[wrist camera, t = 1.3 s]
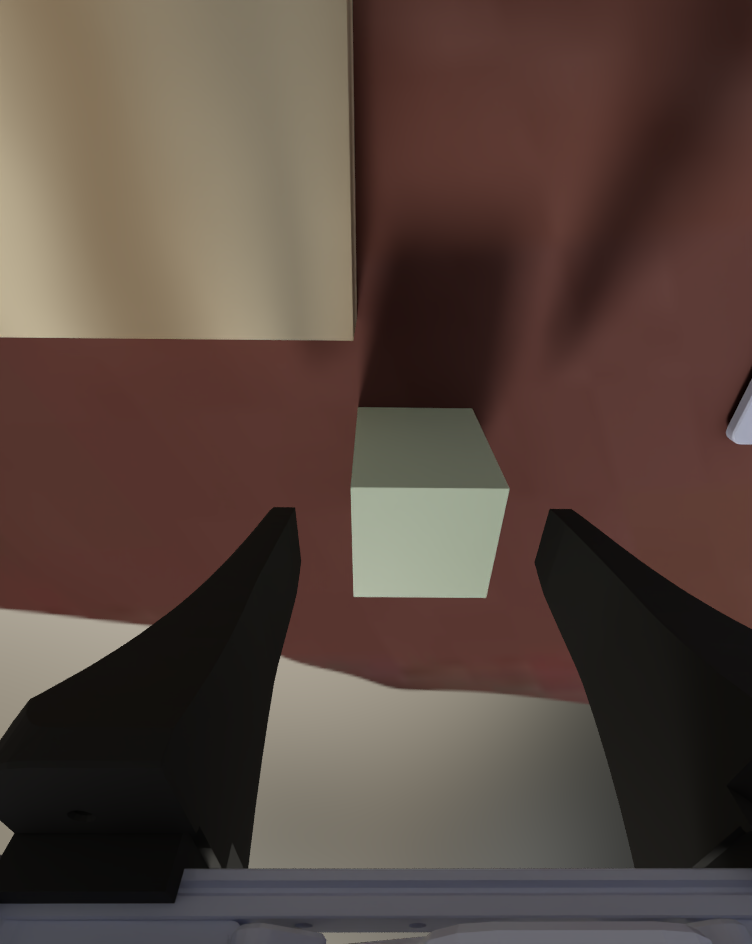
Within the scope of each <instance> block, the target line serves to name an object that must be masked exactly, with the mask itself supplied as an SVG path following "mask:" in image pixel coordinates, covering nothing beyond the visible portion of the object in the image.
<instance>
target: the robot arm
mask: <svg viewBox="0 0 752 944" xmlns="http://www.w3.org/2000/svg"><path fill="white" fill-rule="evenodd" d="M726 435H727V437H728V438H729V439H730V440H732V441H733V442H735V443H737V444H752V379H751V381H750V383H749V385H748V387H747V389H746V391H745V393H744V395H743V397H742V399H741V401H740V403H739V405H738V407H737V409H736V411H735V413H734V415H733V417H732V419H731V421H730V423H729V425H728V427H727V431H726ZM300 566H301V556H300V547H299V539H298V530H297V521H296V512H295V508H292V507H273V508H272V509H271V510H270V511H269V512H268V514H267V515H266V516H265V517H264V518H263V520H262V521H261V522H260V523H259V525H258V526H257V527H256V528H255V529H254V531H253V532H252V533H251V534H250V535H249V536H248V538H247V539H246V540H245V541H244V542H243V543H242V544H241V545H240V546H239V548H238V549H237V550H236V551H235V552H234V553H233V554H232V555H231V556H230V557H229V559H228V560H227V561H226V562H225V563H224V564H223V565H222V566H221V567H220V568H219V569H218V570H217V571H216V572H215V573H214V574H213V575H212V576H211V577H210V578H209V579H208V580H207V581H205V582H204V583H203V584H202V585H201V586H200V587H199V588H198V589H197V590H196V591H194V592H193V593H192V594H191V595H190V596H189V597H188V598H186V599H185V600H184V601H183V602H182V603H180V604H179V605H178V606H177V607H176V608H174V609H173V610H172V611H171V612H169V613H168V614H167V615H165V616H164V617H162V618H161V619H160V620H158V621H157V622H156V623H154V624H153V625H152V626H150V627H149V628H148V629H146V630H145V631H143V632H142V633H141V634H140V635H138V636H136V637H135V638H133V639H132V640H130V641H129V642H127V643H126V644H124V645H123V646H121V647H120V648H118V649H117V650H115V651H114V652H112V653H110V654H109V655H107V656H106V657H104V658H102V659H101V660H99V661H98V662H96V663H94V664H93V665H91V666H89V667H87V668H86V669H84V670H83V671H81V672H79V673H77V674H75V675H73V676H72V677H70V678H68V679H66V680H65V681H63V682H61V683H59V684H57V685H55V686H54V687H52V688H50V689H48V690H47V691H45V692H43V693H41V694H39V695H37V696H35V697H33V698H31V699H30V700H29V701H28V703H27V704H26V705H25V706H24V708H23V709H22V710H21V712H20V713H19V714H18V716H17V717H16V718H15V720H14V721H13V722H12V724H11V725H10V727H9V728H8V730H7V731H6V733H5V734H4V736H3V737H2V738H1V740H0V821H1V822H3V823H4V824H5V825H6V826H7V827H8V828H9V829H10V830H12V831H13V832H14V835H13V837H12V839H11V840H10V842H9V844H8V846H7V847H6V849H5V851H4V853H3V854H2V855H0V944H326V939H325V937H324V936H323V934H322V933H317V932H431V933H429V934H428V935H427V936H426V937H414V938H403V939H393V940H383V941H372V942H361V943H351V944H752V629H750V628H748V627H747V626H745V625H743V624H741V623H739V622H737V621H735V620H733V619H731V618H730V617H728V616H726V615H724V614H722V613H721V612H719V611H717V610H715V609H714V608H712V607H710V606H709V605H707V604H705V603H704V602H702V601H700V600H699V599H697V598H695V597H694V596H692V595H690V594H689V593H687V592H686V591H684V590H682V589H681V588H679V587H678V586H676V585H675V584H673V583H672V582H670V581H669V580H667V579H666V578H664V577H663V576H661V575H660V574H658V573H657V572H655V571H654V570H652V569H651V568H650V567H648V566H647V565H645V564H644V563H643V562H641V561H640V560H638V559H637V558H636V557H634V556H633V555H632V554H630V553H629V552H628V551H626V550H625V549H624V548H622V547H621V546H620V545H618V544H617V543H616V542H614V541H613V540H612V539H611V538H609V537H608V536H607V535H605V534H604V533H603V532H601V531H600V530H599V529H598V528H596V527H595V526H594V525H592V524H591V523H590V522H588V521H587V520H586V519H584V518H583V517H582V516H580V515H579V514H578V513H576V512H575V511H573V510H572V509H550V510H549V513H548V517H547V520H546V524H545V527H544V531H543V534H542V538H541V542H540V545H539V549H538V552H537V556H536V559H535V566H536V569H537V573H538V577H539V580H540V584H541V587H542V590H543V593H544V596H545V598H546V601H547V603H548V605H549V608H550V610H551V612H552V614H553V617H554V619H555V621H556V624H557V626H558V628H559V630H560V632H561V635H562V637H563V639H564V641H565V643H566V646H567V648H568V650H569V652H570V655H571V657H572V659H573V661H574V663H575V666H576V668H577V670H578V673H579V675H580V678H581V680H582V683H583V686H584V689H585V692H586V695H587V698H588V701H589V704H590V707H591V710H592V713H593V716H594V718H595V722H596V725H597V728H598V732H599V735H600V738H601V742H602V745H603V748H604V751H605V755H606V758H607V761H608V765H609V768H610V772H611V776H612V779H613V783H614V786H615V790H616V794H617V798H618V801H619V805H620V808H621V813H622V817H623V821H624V825H625V829H626V833H627V837H628V841H629V846H630V850H631V853H632V858H633V862H634V867H635V868H595V869H594V868H587V869H586V868H583V869H582V868H575V869H574V868H572V869H571V868H568V869H567V868H565V869H564V868H560V869H559V868H551V869H550V868H548V869H547V868H546V869H545V868H533V869H532V868H527V869H526V868H522V869H521V868H518V869H517V868H512V869H510V868H507V869H505V868H499V869H498V868H495V869H494V868H493V869H492V868H487V869H486V868H485V869H484V868H481V869H480V868H475V869H474V868H472V869H470V868H467V869H464V868H463V869H459V868H457V869H455V868H453V869H248V865H249V856H250V848H251V840H252V832H253V823H254V815H255V807H256V799H257V792H258V785H259V778H260V771H261V763H262V756H263V749H264V743H265V736H266V730H267V723H268V716H269V710H270V704H271V698H272V692H273V685H274V681H275V676H276V672H277V667H278V663H279V659H280V656H281V652H282V648H283V644H284V640H285V637H286V633H287V629H288V625H289V622H290V618H291V614H292V610H293V606H294V602H295V598H296V594H297V588H298V581H299V574H300Z"/></svg>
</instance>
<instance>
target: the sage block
mask: <svg viewBox="0 0 752 944" xmlns="http://www.w3.org/2000/svg"><path fill="white" fill-rule="evenodd" d="M508 493H509V487H508V484H507V482H506V480H505V478H504V476H503V474H502V472H501V469H500V467H499V465H498V463H497V461H496V459H495V457H494V454H493V452H492V450H491V448H490V446H489V444H488V442H487V439H486V437H485V435H484V433H483V431H482V429H481V427H480V424H479V422H478V420H477V418H476V416H475V414H474V411H473V409H472V408H379V407H358V413H357V424H356V435H355V446H354V457H353V468H352V479H351V515H352V552H353V590H354V597H452V598H486V595H487V591H488V586H489V582H490V577H491V572H492V568H493V563H494V558H495V554H496V549H497V544H498V540H499V535H500V531H501V526H502V521H503V517H504V512H505V507H506V503H507V498H508Z"/></svg>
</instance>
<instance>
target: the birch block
mask: <svg viewBox="0 0 752 944" xmlns="http://www.w3.org/2000/svg"><path fill="white" fill-rule="evenodd" d="M356 321H357V287H356V217H355V146H354V75H353V4H352V0H0V337H35V338H139V339H244V340H349V341H353V338H354V333H355V327H356Z"/></svg>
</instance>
